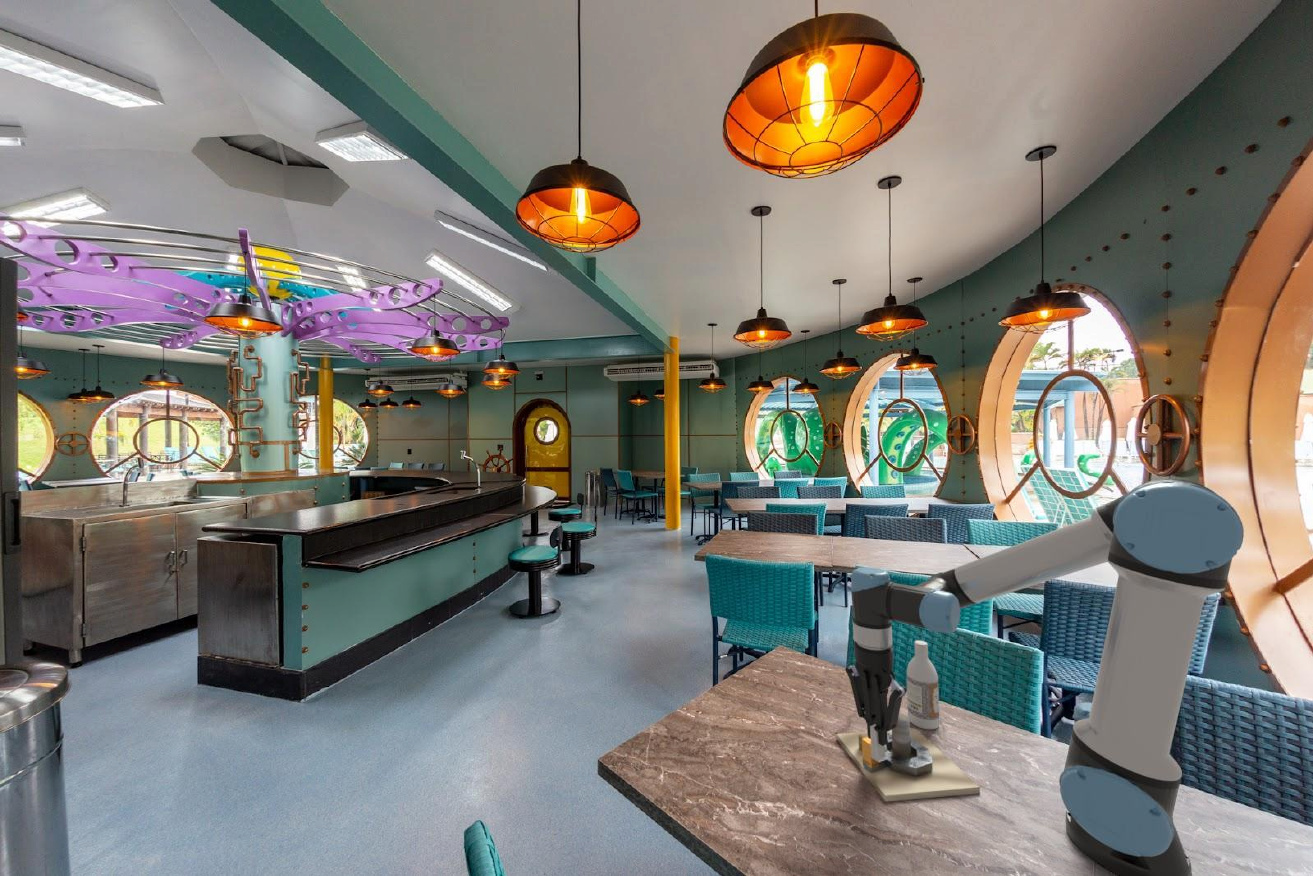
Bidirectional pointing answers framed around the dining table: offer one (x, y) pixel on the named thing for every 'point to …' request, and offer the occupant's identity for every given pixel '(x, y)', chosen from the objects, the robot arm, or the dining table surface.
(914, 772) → the flange
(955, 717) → the dining table surface
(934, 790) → the post base
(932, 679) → the bath foam
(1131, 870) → the robot arm
